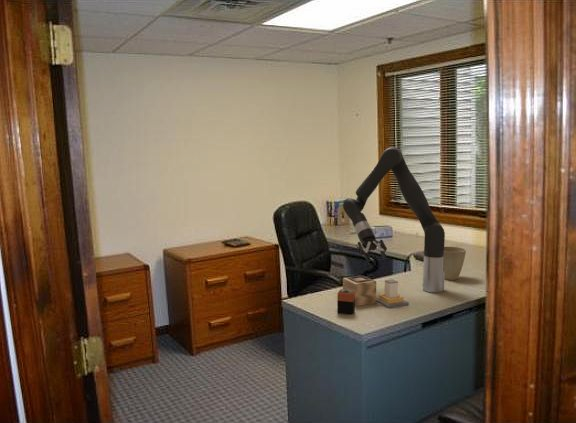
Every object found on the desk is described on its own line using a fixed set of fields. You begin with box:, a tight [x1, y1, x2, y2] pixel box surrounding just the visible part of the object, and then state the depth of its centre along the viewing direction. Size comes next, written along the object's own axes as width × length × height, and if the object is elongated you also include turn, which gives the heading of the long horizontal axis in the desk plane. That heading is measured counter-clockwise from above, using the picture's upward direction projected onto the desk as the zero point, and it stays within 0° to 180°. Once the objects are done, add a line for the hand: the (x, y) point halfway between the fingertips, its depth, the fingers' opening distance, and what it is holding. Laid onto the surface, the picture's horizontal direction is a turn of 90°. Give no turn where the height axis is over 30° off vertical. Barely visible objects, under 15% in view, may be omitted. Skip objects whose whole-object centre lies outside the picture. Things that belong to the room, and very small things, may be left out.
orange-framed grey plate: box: [376, 293, 410, 309], centre depth 220 cm, size 11×11×3 cm
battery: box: [336, 288, 356, 316], centre depth 207 cm, size 4×7×10 cm, turn 71°
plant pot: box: [443, 246, 467, 281], centre depth 260 cm, size 15×15×16 cm
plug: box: [383, 278, 399, 299], centre depth 220 cm, size 4×4×9 cm
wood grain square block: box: [342, 275, 377, 307], centre depth 223 cm, size 11×11×11 cm
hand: (377, 260), depth 229 cm, fingers open, 8 cm apart
